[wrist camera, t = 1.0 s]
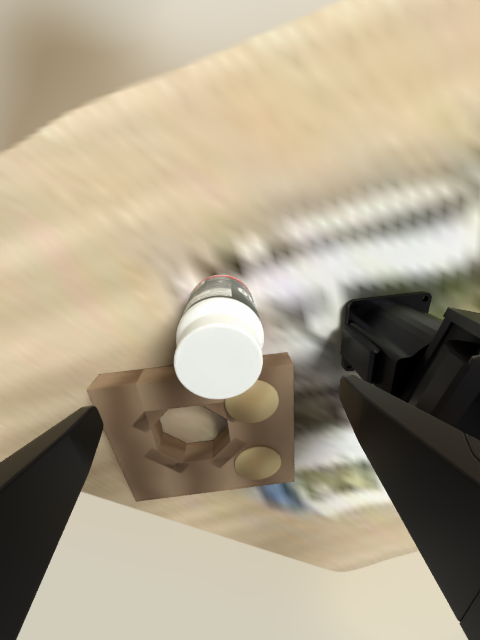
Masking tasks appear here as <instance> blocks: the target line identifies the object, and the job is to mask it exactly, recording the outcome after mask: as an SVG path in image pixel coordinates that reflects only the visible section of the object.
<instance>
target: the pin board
mask: <svg viewBox="0 0 480 640" xmlns="http://www.w3.org/2000/svg"><path fill="white" fill-rule="evenodd" d="M262 356H263V365H262V370H261V373H260V375H259V377H258V379H257V380H256V382H255V383H254V384H253V385H252V386H251V387H250V388H249V389H248V390H246V391H245V392H243V393H242V394H240V395H237V396H234V397H231V398H226V399H208V398H204V397H201V396H198V395H196V394H194V393H193V392H191V391H189V390H188V389H187V388H186V387H185V386H184V385H183V384H182V383H181V382H180V380H179V379H178V377H177V375H176V372H175V368H174V366H167V367H158V368H149V369H141V370H132V371H124V372H115V373H106V374H99V375H98V376H97V378H96V379H95V380H94V381H93V383H92V384H91V385H90V386H89V388H88V389H87V392H88V394H89V397H90V399H91V401H92V403H93V406H96V407H97V409H98V411H99V413H100V416H101V418H102V420H103V424H104V427H103V428H104V431H105V433H106V435H107V437H108V440H109V442H110V444H111V446H112V449H113V451H114V453H115V455H116V458H117V460H118V462H119V464H120V467H121V469H122V471H123V473H124V476H125V478H126V480H127V482H128V485H129V487H130V489H131V491H132V494H133V496H134V498H135V500H136V501H144V500H152V499H160V498H168V497H176V496H183V495H191V494H199V493H207V492H215V491H223V490H231V489H238V488H246V487H254V486H262V485H270V484H278V483H286V482H293V481H294V366H293V363H292V361H291V359H290V357H289V355H288V353H278V354H270V355H262ZM195 405H202V406H204V407H206V408H208V409H209V410H211V411H213V412H215V413H217V414H218V415H220V416H222V417H224V418H225V419H227V422H228V426H227V427H226V428H225V429H224V430H223V431H222V432H221V433H220V434H219V435H218V436H217V437H216V438H215V439H214V440H212V441H204V442H196V443H188V444H186V443H184V442H182V441H180V440H178V439H176V438H174V437H172V436H170V435H168V434H166V433H164V432H163V430H162V426H161V423H160V420H159V419H160V418H161V416H162V415H163V414H164V413H165V412H166V411H167V410H168V409H170V408H179V407H187V406H195Z"/></svg>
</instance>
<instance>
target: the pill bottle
mask: <svg viewBox="0 0 480 640" xmlns="http://www.w3.org/2000/svg"><path fill="white" fill-rule="evenodd" d="M263 343H264V331H263V327H262V324H261V321H260V318H259V315H258V312H257V310H256V307H255V304H254V301H253V298H252V295H251V293H250V291H249V290H248V288H247V287H246V286H245V284H243V283H242V282H241V281H240V280H238V279H236V278H234V277H232V276H228V275H214V276H211V277H208V278H206V279H204V280H203V281H201V282H200V283H199V284H198V285H197V286H196V288H195V289H194V291H193V293H192V295H191V297H190V299H189V302H188V304H187V306H186V309H185V311H184V313H183V315H182V317H181V319H180V322H179V324H178V328H177V332H176V344H177V348H176V351H175V355H174V368H175V372H176V375H177V377H178V379H179V380H180V382H181V383H182V384H183V385H184V386H185V387H186V388H187V389H188V390H189V391H191V392H193V393H194V394H196V395H198V396H201V397H204V398H208V399H226V398H231V397H234V396H237V395H240V394H242V393H243V392H245V391H246V390H248V389H249V388H250V387H251V386H252V385H253V384H254V383H255V382H256V380H257V379H258V377H259V375H260V373H261V370H262V365H263V356H262V348H263Z"/></svg>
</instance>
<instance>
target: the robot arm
mask: <svg viewBox="0 0 480 640" xmlns="http://www.w3.org/2000/svg"><path fill="white" fill-rule="evenodd" d="M423 297H424V299H423V300H422V298H423ZM431 298H432V296H431V294H429V293H427V292H414V293H405V294H396V295H387V296H378V297H370V298H361V299H353V300H351V301H349V302H348V304H347V309H346V321H345V326H344V327H343V332H342V344H341V355H342V367H343V368H344V370H346V371H356V372H357V373H358V374H359V375H360V377H361V378H362V379H363V380H362V379H360V378H358V377H356V376H354V375H346V376H342V377H341V380H340V392H339V396H340V400H341V402H342V405H343V407H344V409H345V412H346V414H347V416H348V419H349V421H350V423H351V426H352V428H353V431H354V433H355V435H356V437H357V439H358V441H359V443H360V445H361V447H362V449H363V451H364V452H365V454H366V456H367V458H368V460H369V461H370V463H371V465H372V467H373V469H374V470H375V472H376V474H377V476H378V478H379V479H380V481H381V483H382V485H383V487H384V488H385V490H386V492H387V494H388V496H389V497H390V499H391V501H392V503H393V505H394V506H395V508H396V510H397V512H398V514H399V515H400V517H401V519H402V521H403V523H404V524H405V526H406V528H407V530H408V532H409V533H410V535H411V537H412V539H413V540H414V542H415V544H416V546H417V548H418V549H419V551H420V553H421V555H422V557H423V558H424V560H425V562H426V564H427V566H428V567H429V569H430V571H431V573H432V575H433V576H434V578H435V580H436V582H437V584H438V585H439V587H440V589H441V591H442V593H443V594H444V596H445V598H446V599H447V602H448V603H449V605H450V607H451V609H452V611H453V612H454V614H455V616H456V618H457V619H458V621H460V625H461V627H462V629H463V631H464V632H465V634H466V636H467V638H468V640H480V313H476V312H471V311H466V310H460V309H455V308H450V307H448V308H447V310H446V312H445V314H444V316H443V317H445V318H444V320H441V319H439V318H437V317H435V316H433V315H431V314H429V313H428V311H429V307H430V303H431ZM354 304H356V307H355V308H352V307H353V305H354ZM348 364H350V365H349V366H347V365H348ZM372 384H373V385H372ZM103 427H104V424H103V420H102V418H101V416H100V413H99V411H98V409H97V407H96V406H86V407H82V408H80V409H79V410H77V411H76V412H74V413H73V414H71V415H70V416H68V417H67V418H65V419H64V420H62V421H61V422H59V423H58V424H57V425H55V426H54V427H52V428H51V429H49V430H48V431H46V432H45V433H43V434H42V435H40V436H39V437H37V438H36V439H34V440H33V441H31V442H30V443H28V444H27V445H25V446H24V447H23V448H21V449H20V450H18V451H17V452H15V453H14V454H12V455H11V456H9V457H8V458H6V459H5V460H3V461H2V462H0V640H16V639H17V636H18V634H19V632H20V630H21V627H22V625H23V623H24V620H25V618H26V616H27V614H28V611H29V609H30V607H31V604H32V602H33V600H34V598H35V595H36V593H37V591H38V588H39V586H40V584H41V581H42V579H43V577H44V574H45V572H46V570H47V568H48V565H49V563H50V560H51V558H52V556H53V553H54V551H55V549H56V547H57V545H58V542H59V540H60V538H61V535H62V533H63V531H64V529H65V526H66V524H67V522H68V519H69V517H70V515H71V512H72V510H73V508H74V505H75V503H76V501H77V498H78V496H79V494H80V492H81V489H82V487H83V485H84V483H85V480H86V478H87V475H88V473H89V470H90V467H91V465H92V462H93V459H94V455H95V452H96V449H97V446H98V443H99V440H100V437H101V434H102V431H103Z"/></svg>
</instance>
